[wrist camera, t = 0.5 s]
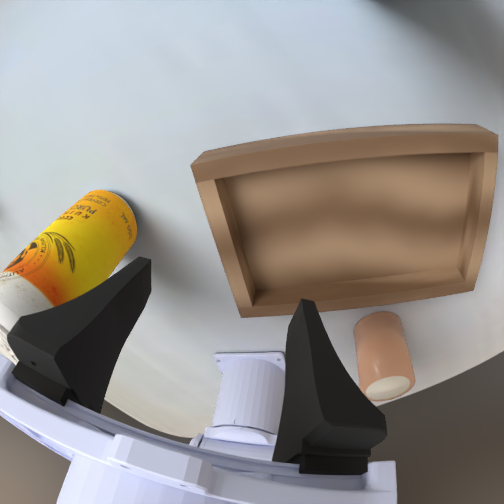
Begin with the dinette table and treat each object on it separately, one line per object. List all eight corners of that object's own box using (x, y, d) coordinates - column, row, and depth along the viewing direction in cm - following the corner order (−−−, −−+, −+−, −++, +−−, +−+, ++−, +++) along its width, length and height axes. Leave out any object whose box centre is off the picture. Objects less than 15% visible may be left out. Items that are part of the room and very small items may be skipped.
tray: (460, 268, 22) (473, 290, 20) (246, 293, 27) (241, 317, 24) (476, 124, 15) (498, 135, 13) (203, 151, 20) (190, 165, 17)
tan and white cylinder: (397, 340, 28) (409, 397, 23) (353, 346, 29) (358, 404, 24) (403, 308, 26) (420, 369, 20) (354, 314, 27) (362, 378, 21)
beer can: (114, 173, 22) (-21, 299, 9) (154, 233, 24) (59, 383, 12) (73, 203, 24) (-37, 316, 12) (109, 254, 27) (23, 380, 14)
